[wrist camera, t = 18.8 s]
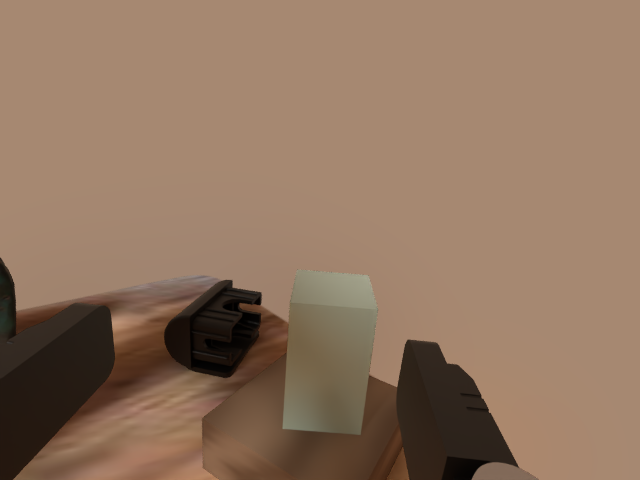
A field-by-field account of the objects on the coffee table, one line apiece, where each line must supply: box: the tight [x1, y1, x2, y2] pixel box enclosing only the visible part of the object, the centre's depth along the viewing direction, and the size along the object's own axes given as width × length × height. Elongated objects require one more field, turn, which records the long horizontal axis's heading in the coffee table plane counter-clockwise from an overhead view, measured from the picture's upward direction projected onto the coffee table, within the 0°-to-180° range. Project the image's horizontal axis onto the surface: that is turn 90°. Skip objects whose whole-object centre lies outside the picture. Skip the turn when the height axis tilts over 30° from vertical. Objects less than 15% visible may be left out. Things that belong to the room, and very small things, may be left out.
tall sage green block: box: [282, 270, 378, 435], centre depth 27 cm, size 6×6×10 cm
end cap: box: [164, 280, 262, 378], centre depth 41 cm, size 10×7×7 cm
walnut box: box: [202, 353, 403, 480], centre depth 29 cm, size 12×12×5 cm
